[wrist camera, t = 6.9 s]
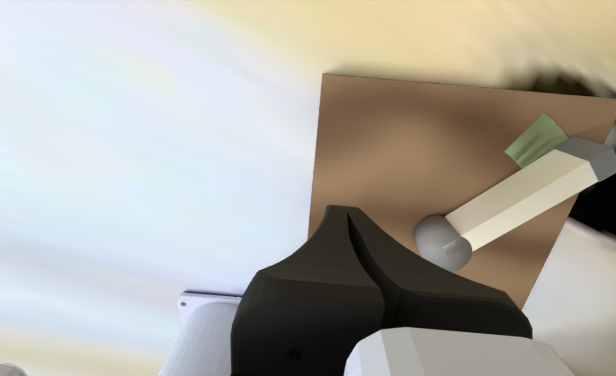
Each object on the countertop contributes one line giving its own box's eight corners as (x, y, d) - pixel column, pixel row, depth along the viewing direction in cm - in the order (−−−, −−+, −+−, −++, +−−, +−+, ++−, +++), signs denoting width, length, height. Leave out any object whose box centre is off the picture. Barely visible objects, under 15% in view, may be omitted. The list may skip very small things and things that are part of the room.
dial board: (497, 324, 26) (507, 339, 25) (301, 308, 26) (300, 322, 25) (602, 97, 19) (626, 100, 17) (322, 73, 18) (322, 74, 17)
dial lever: (425, 257, 22) (439, 281, 19) (404, 230, 21) (415, 252, 18) (586, 163, 19) (626, 178, 16) (568, 127, 18) (607, 137, 15)
